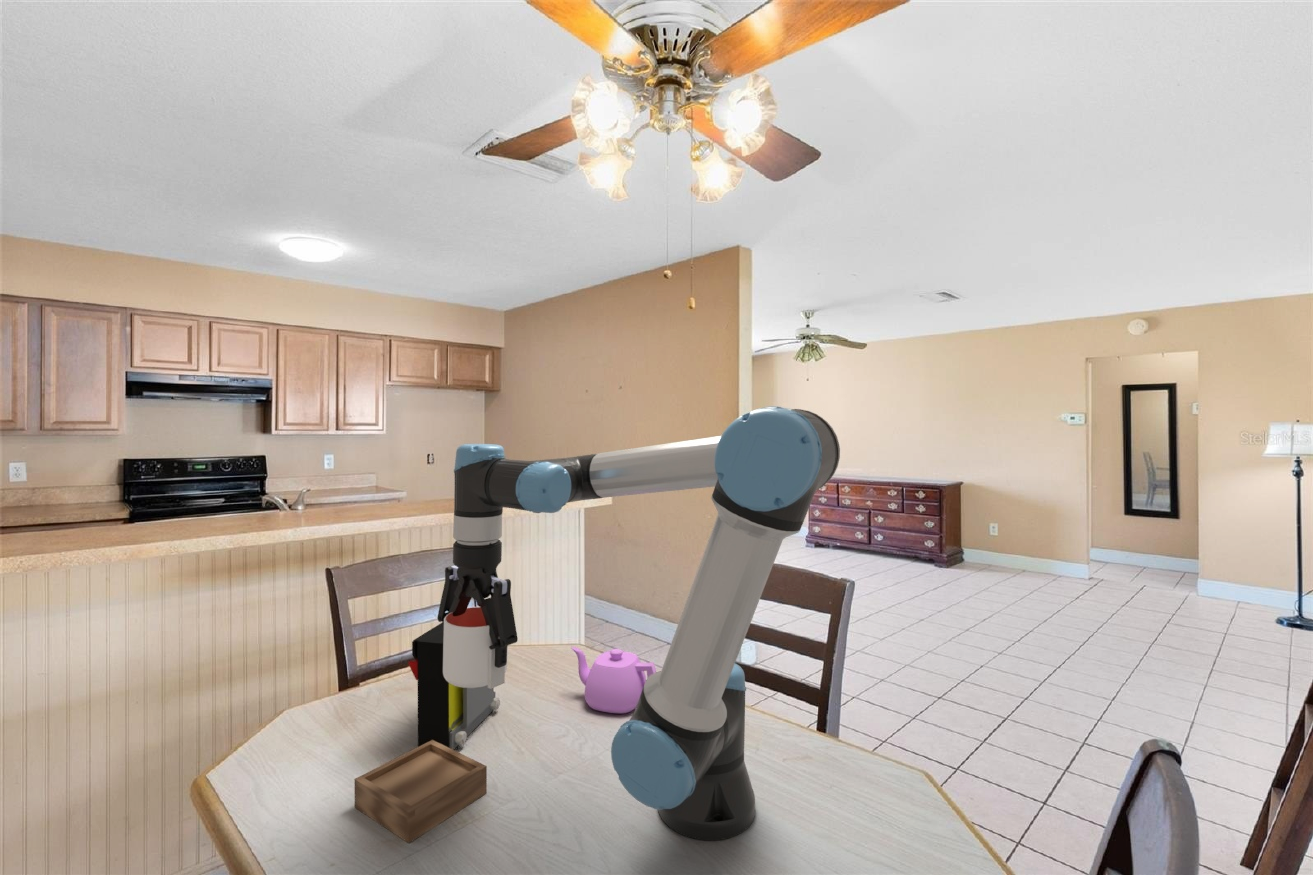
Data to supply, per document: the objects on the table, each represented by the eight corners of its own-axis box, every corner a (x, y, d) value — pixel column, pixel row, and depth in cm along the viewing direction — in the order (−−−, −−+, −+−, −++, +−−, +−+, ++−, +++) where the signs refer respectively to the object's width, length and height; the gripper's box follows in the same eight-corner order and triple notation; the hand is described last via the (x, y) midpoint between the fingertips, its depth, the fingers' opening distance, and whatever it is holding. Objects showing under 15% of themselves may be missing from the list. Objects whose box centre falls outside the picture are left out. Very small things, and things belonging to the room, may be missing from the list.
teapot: (583, 682, 140) (583, 634, 139) (666, 694, 134) (667, 644, 134) (557, 708, 127) (557, 656, 127) (647, 723, 121) (648, 668, 121)
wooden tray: (486, 793, 98) (486, 766, 98) (408, 843, 87) (408, 812, 86) (432, 765, 106) (432, 739, 106) (354, 807, 94) (354, 779, 94)
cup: (492, 659, 106) (493, 602, 105) (517, 681, 98) (518, 620, 97) (434, 673, 100) (435, 613, 99) (455, 697, 92) (456, 632, 91)
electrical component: (459, 754, 109) (459, 645, 109) (408, 748, 111) (407, 640, 111) (503, 709, 127) (502, 614, 126) (458, 704, 129) (458, 610, 128)
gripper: (544, 547, 94) (540, 688, 95) (455, 526, 107) (452, 650, 108) (505, 556, 88) (501, 706, 89) (416, 532, 101) (413, 663, 102)
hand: (474, 675), depth 99 cm, fingers closed on cup, 10 cm apart
